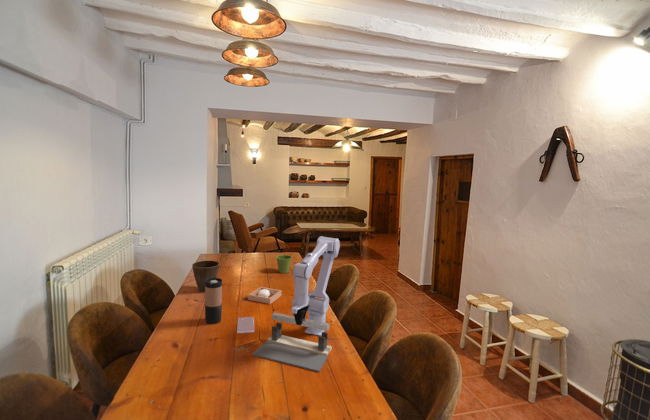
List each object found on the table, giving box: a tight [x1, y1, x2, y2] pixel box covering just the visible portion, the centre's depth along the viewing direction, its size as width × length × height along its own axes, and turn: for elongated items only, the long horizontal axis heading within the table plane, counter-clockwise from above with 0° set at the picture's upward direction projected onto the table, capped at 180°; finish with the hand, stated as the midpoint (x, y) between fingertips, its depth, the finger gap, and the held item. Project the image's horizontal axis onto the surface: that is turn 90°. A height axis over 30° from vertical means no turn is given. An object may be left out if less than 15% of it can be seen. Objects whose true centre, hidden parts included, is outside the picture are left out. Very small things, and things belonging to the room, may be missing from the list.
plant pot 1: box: [192, 260, 220, 293], centre depth 192 cm, size 15×15×16 cm
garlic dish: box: [247, 286, 283, 305], centre depth 186 cm, size 14×14×3 cm
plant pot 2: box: [275, 254, 293, 274], centre depth 234 cm, size 12×12×11 cm
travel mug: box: [204, 277, 223, 325], centre depth 153 cm, size 8×8×20 cm
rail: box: [271, 312, 330, 332], centre depth 135 cm, size 2×25×2 cm, turn 72°
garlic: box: [257, 289, 271, 298], centre depth 188 cm, size 8×7×4 cm
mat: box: [251, 341, 328, 373], centre depth 128 cm, size 10×28×1 cm, turn 72°
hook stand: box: [266, 321, 333, 357], centre depth 136 cm, size 6×27×7 cm, turn 72°
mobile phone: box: [236, 316, 255, 334], centre depth 152 cm, size 8×1×15 cm
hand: (299, 323), depth 135 cm, fingers closed on rail, 2 cm apart
